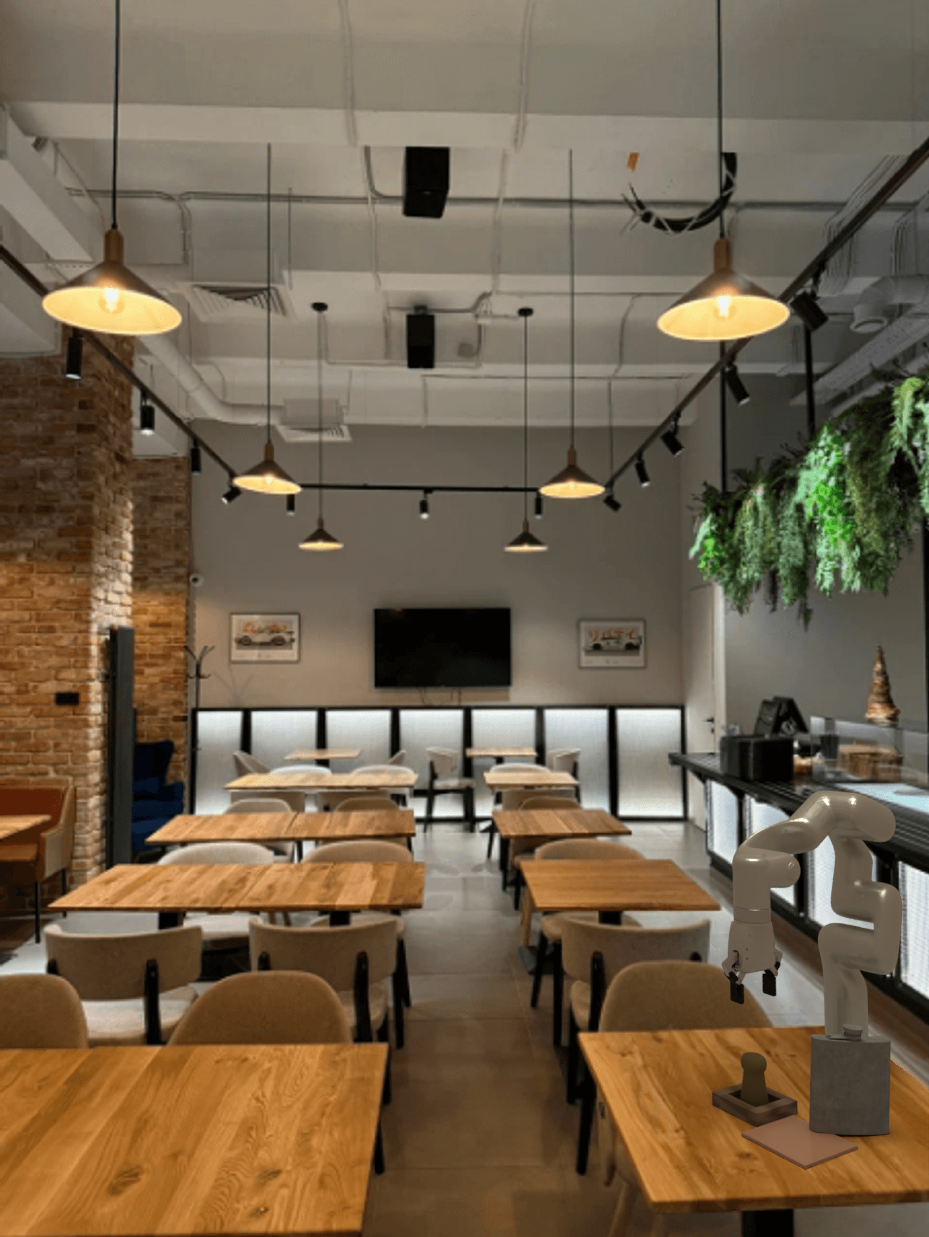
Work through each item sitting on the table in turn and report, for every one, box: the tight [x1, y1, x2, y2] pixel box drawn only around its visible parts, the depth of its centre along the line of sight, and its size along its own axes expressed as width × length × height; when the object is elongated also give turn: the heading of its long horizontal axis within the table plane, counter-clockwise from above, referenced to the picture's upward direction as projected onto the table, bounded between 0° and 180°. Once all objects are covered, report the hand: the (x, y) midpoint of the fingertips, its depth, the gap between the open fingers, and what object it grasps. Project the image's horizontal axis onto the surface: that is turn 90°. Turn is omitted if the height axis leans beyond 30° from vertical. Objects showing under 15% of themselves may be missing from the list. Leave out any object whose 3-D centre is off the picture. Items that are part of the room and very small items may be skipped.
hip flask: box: [808, 1024, 892, 1136], centre depth 185 cm, size 16×4×20 cm, turn 94°
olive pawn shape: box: [740, 1051, 769, 1107], centre depth 195 cm, size 6×6×11 cm
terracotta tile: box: [741, 1115, 859, 1170], centre depth 180 cm, size 15×15×1 cm
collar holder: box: [711, 1082, 799, 1128], centre depth 195 cm, size 12×12×2 cm
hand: (753, 998), depth 196 cm, fingers open, 9 cm apart
